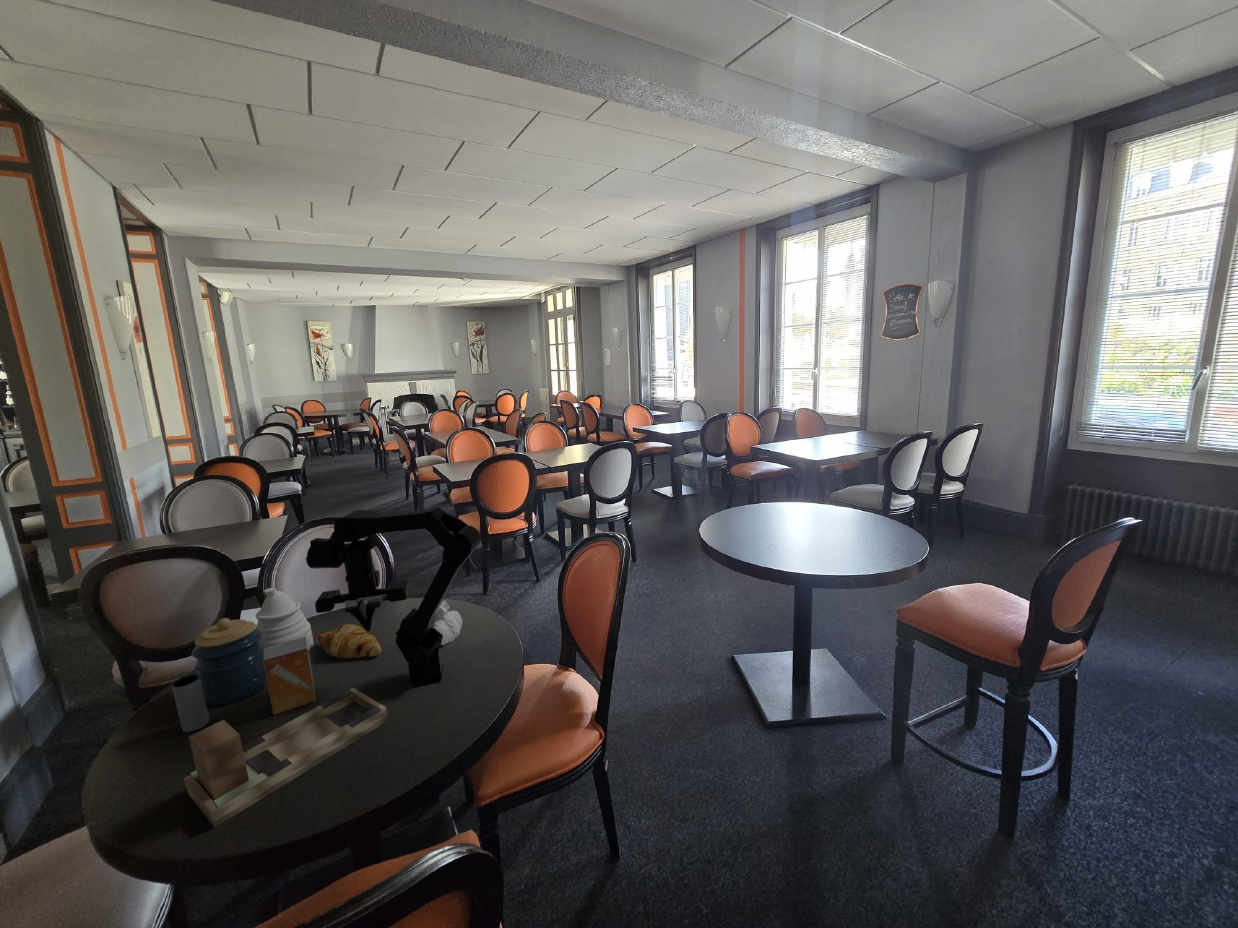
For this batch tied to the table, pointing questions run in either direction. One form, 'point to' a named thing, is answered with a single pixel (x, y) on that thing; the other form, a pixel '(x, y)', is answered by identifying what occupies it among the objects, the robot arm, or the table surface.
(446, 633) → the white lumpy piece
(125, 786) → the table surface
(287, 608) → the honey pot
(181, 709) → the planter
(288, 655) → the small box
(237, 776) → the walnut block
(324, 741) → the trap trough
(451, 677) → the table surface
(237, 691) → the canister
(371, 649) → the croissant
